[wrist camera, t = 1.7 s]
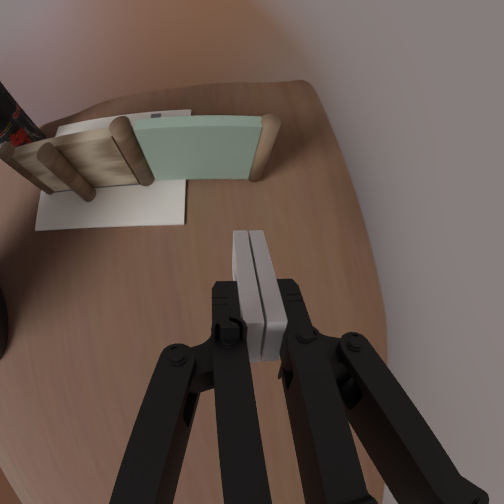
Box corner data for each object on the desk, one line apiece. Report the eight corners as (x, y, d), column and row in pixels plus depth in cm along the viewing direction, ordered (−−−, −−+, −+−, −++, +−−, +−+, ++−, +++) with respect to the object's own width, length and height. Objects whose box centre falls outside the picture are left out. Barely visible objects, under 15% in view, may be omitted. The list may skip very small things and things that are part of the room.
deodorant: (47, 127, 32) (4, 72, 17) (44, 156, 31) (-7, 102, 16) (21, 141, 31) (-24, 93, 16) (17, 170, 30) (-36, 125, 15)
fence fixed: (43, 206, 29) (-8, 172, 18) (47, 182, 30) (1, 143, 18) (152, 197, 32) (124, 147, 20) (155, 171, 32) (131, 114, 21)
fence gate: (156, 183, 31) (132, 131, 20) (157, 170, 32) (135, 115, 21) (261, 182, 33) (282, 129, 22) (261, 169, 33) (280, 114, 22)
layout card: (35, 231, 29) (34, 230, 29) (59, 127, 32) (58, 126, 32) (184, 224, 32) (183, 223, 32) (191, 110, 35) (191, 109, 34)
